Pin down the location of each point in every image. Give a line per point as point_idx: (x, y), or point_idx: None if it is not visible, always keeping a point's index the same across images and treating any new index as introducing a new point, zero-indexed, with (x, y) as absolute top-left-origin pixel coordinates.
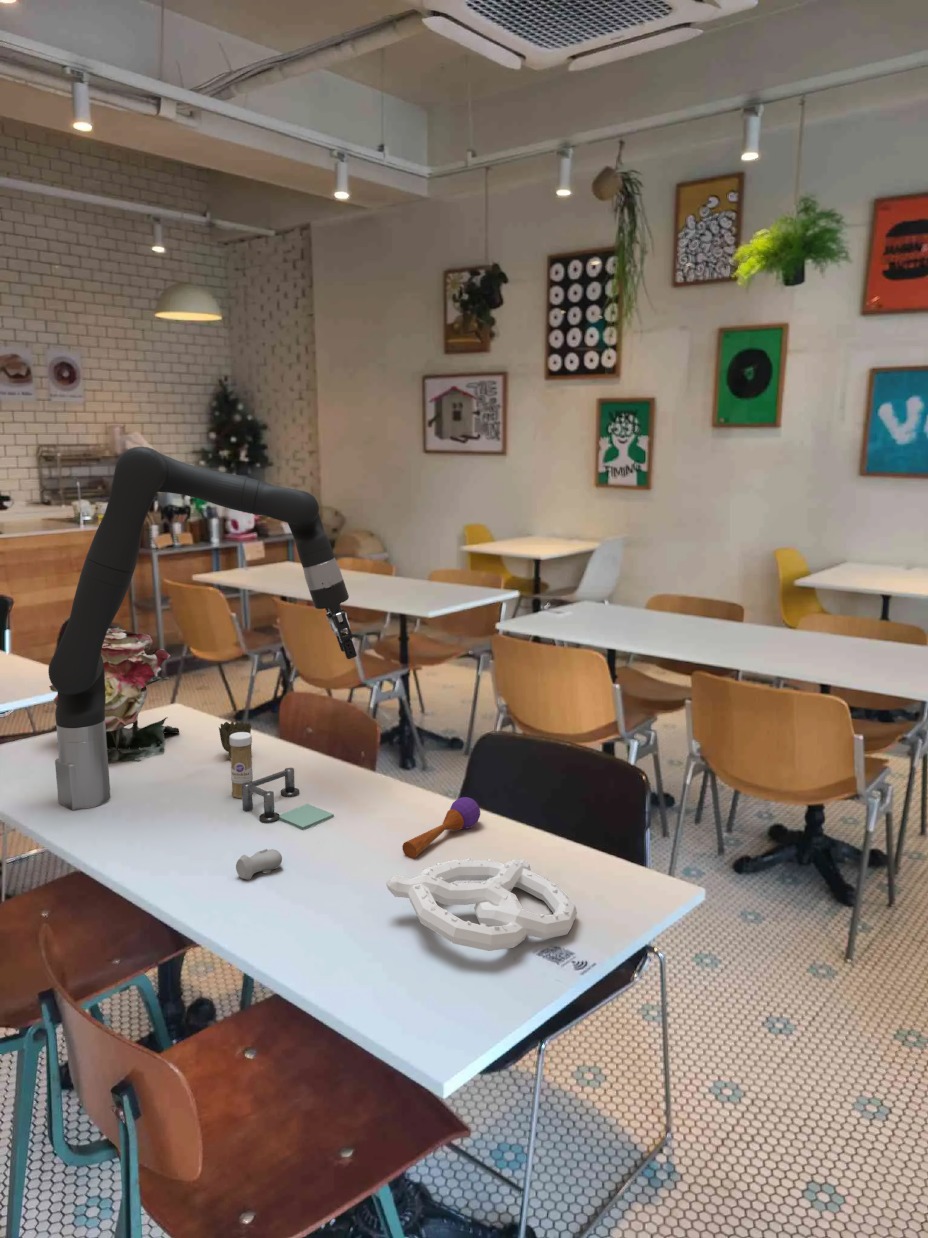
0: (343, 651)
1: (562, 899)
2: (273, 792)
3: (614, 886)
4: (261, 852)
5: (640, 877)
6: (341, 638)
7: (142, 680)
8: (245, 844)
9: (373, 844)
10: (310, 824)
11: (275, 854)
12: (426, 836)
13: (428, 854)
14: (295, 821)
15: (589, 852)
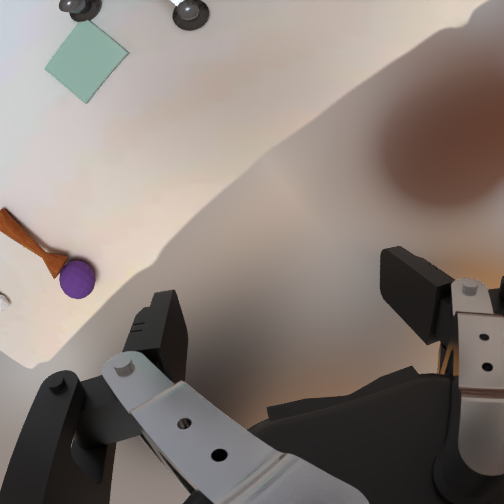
0: (381, 255)
1: None
2: (67, 10)
3: (20, 343)
4: None
5: (38, 357)
6: (40, 394)
7: None
8: (15, 9)
9: (19, 170)
10: (53, 76)
11: None
12: (12, 238)
13: None
14: (62, 51)
15: (61, 344)
